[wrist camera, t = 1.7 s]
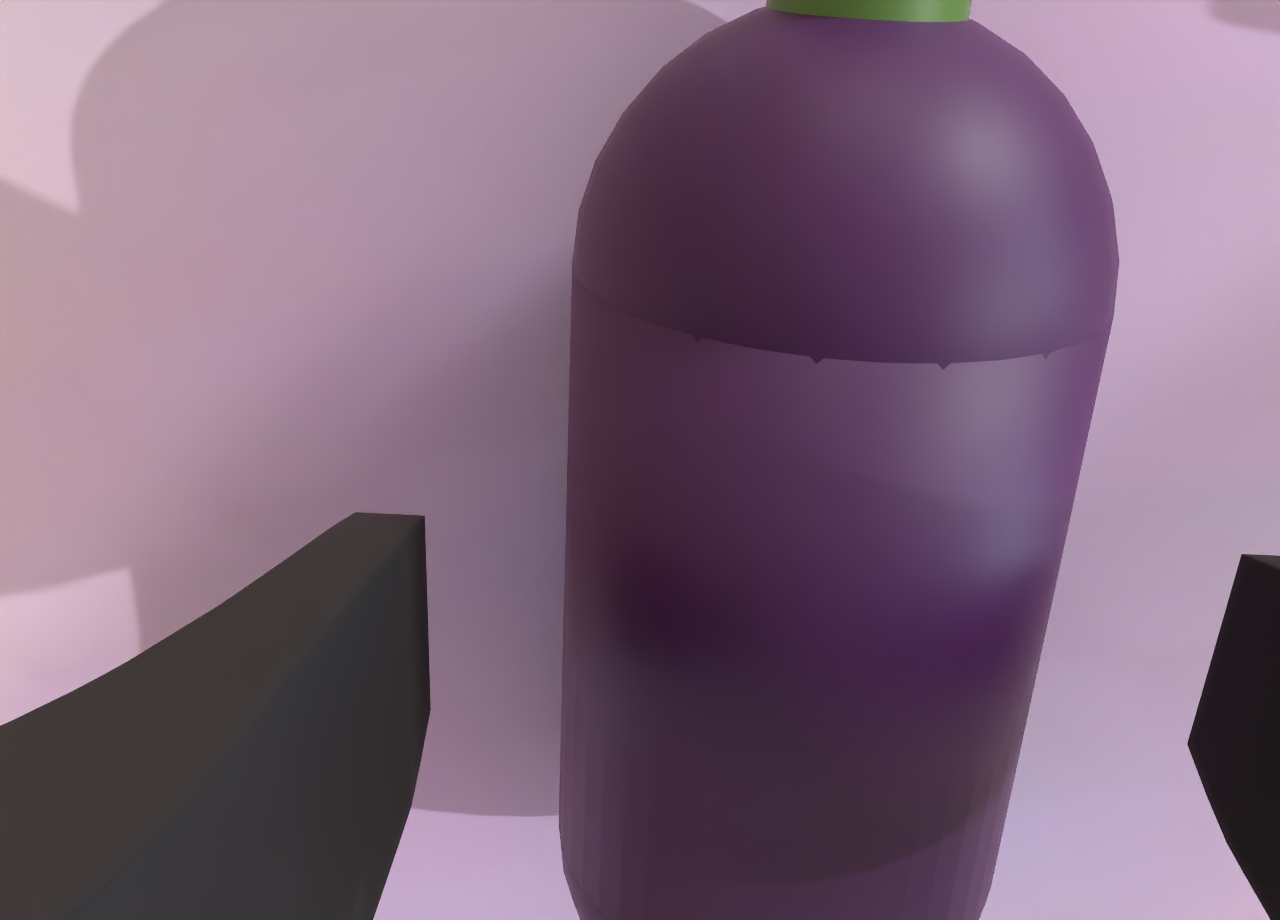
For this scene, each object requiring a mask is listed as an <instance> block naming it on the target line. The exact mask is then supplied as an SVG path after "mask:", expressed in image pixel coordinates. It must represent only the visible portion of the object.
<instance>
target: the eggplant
mask: <svg viewBox="0 0 1280 920" xmlns="http://www.w3.org/2000/svg"><path fill="white" fill-rule="evenodd" d="M970 7H971V0H767V2H766V7H763V8H759V9H756V10H754V11H752V12H750V13H748V14H746V15H743V16H741V17H739V18H737V19H735V20H733V21H731V22H729V23H727V24H725V25H723V26H721V27H719V28H717V29H715V30H713V31H711V32H709V33H707V34H705V35H704V36H703V37H701V38H700V39H699V40H697V41H696V42H695V43H693V44H692V45H691V46H690V47H688V48H687V49H686V50H684V51H683V52H682V53H680V54H679V55H678V56H676V57H675V58H674V59H673V60H671V61H670V62H669V63H667V64H666V65H665V66H663V67H662V69H661V70H660V71H659V72H658V73H657V74H656V76H655V77H654V78H653V79H652V80H651V81H650V82H649V84H648V85H647V86H646V87H645V88H644V89H643V90H642V92H641V93H640V94H639V95H638V96H637V97H636V98H635V100H634V101H633V102H632V103H631V104H630V105H629V107H628V108H627V109H626V110H625V111H624V112H623V114H622V116H621V117H620V119H619V121H618V122H617V124H616V126H615V128H614V129H613V131H612V133H611V135H610V136H609V138H608V140H607V142H606V143H605V145H604V147H603V149H602V150H601V152H600V154H599V156H598V157H597V159H596V161H595V164H594V167H593V170H592V173H591V176H590V179H589V182H588V185H587V188H586V191H585V194H584V197H583V200H582V203H581V206H580V209H579V213H578V221H577V229H576V237H575V245H574V253H573V261H572V299H571V341H570V382H569V424H568V465H567V506H566V548H565V589H564V631H563V672H562V714H561V755H560V797H559V831H560V839H561V849H562V859H563V869H564V874H565V877H566V880H567V883H568V886H569V889H570V892H571V895H572V898H573V901H574V904H575V907H576V909H577V912H578V915H579V917H580V920H979V918H980V915H981V912H982V909H983V907H984V906H985V903H986V899H987V896H988V893H989V890H990V887H991V883H992V879H993V874H994V869H995V865H996V860H997V855H998V851H999V846H1000V841H1001V837H1002V832H1003V827H1004V823H1005V818H1006V813H1007V809H1008V804H1009V799H1010V795H1011V790H1012V785H1013V781H1014V776H1015V772H1016V767H1017V762H1018V758H1019V753H1020V748H1021V744H1022V739H1023V734H1024V730H1025V725H1026V720H1027V716H1028V711H1029V706H1030V702H1031V697H1032V692H1033V688H1034V683H1035V678H1036V674H1037V669H1038V665H1039V660H1040V655H1041V651H1042V646H1043V641H1044V637H1045V632H1046V627H1047V623H1048V618H1049V613H1050V609H1051V604H1052V599H1053V595H1054V590H1055V585H1056V581H1057V576H1058V571H1059V567H1060V562H1061V558H1062V553H1063V548H1064V544H1065V539H1066V534H1067V530H1068V525H1069V520H1070V516H1071V511H1072V506H1073V502H1074V497H1075V492H1076V488H1077V483H1078V478H1079V474H1080V469H1081V465H1082V460H1083V455H1084V451H1085V446H1086V441H1087V437H1088V432H1089V427H1090V423H1091V418H1092V413H1093V409H1094V404H1095V399H1096V395H1097V390H1098V385H1099V381H1100V376H1101V371H1102V367H1103V362H1104V358H1105V353H1106V348H1107V344H1108V339H1109V334H1110V330H1111V325H1112V320H1113V315H1114V305H1115V296H1116V286H1117V277H1118V267H1119V255H1118V246H1117V237H1116V228H1115V218H1114V209H1113V203H1112V198H1111V194H1110V191H1109V188H1108V185H1107V182H1106V180H1105V177H1104V174H1103V171H1102V168H1101V165H1100V162H1099V159H1098V156H1097V153H1096V150H1095V147H1094V144H1093V142H1092V140H1091V138H1090V137H1089V135H1088V134H1087V132H1086V130H1085V129H1084V127H1083V125H1082V124H1081V122H1080V120H1079V119H1078V117H1077V115H1076V114H1075V112H1074V110H1073V109H1072V107H1071V105H1070V104H1069V102H1068V100H1067V99H1066V97H1065V95H1064V94H1063V93H1062V92H1061V91H1060V90H1059V89H1058V88H1057V87H1056V86H1055V85H1054V84H1053V83H1052V82H1051V81H1050V80H1049V79H1048V78H1047V77H1046V76H1045V74H1044V73H1043V72H1042V71H1041V70H1040V69H1039V68H1038V67H1037V66H1036V65H1035V64H1034V63H1033V62H1032V61H1031V60H1030V59H1029V58H1028V57H1027V56H1026V55H1025V54H1024V53H1022V52H1021V51H1019V50H1018V49H1016V48H1015V47H1013V46H1012V45H1010V44H1009V43H1007V42H1006V41H1004V40H1003V39H1001V38H1000V37H999V36H997V35H996V34H994V33H993V32H991V31H990V30H988V29H987V28H985V27H984V26H982V25H981V24H979V23H977V22H975V21H973V20H970V19H969V13H970Z"/></svg>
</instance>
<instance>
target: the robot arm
mask: <svg viewBox="0 0 1280 920" xmlns="http://www.w3.org/2000/svg"><path fill="white" fill-rule="evenodd" d="M429 715H430V676H429V643H428V610H427V577H426V544H425V516H420V515H399V514H378V513H354V514H352V515H350V516H349V517H347V518H345V519H343V520H342V521H340V522H339V523H337V524H336V525H334V526H333V527H331V528H330V529H328V530H327V531H325V532H324V533H323V534H321V535H320V536H318V537H317V538H315V539H314V540H313V541H311V542H310V543H308V544H307V545H306V546H304V547H303V548H301V549H300V550H299V551H297V552H296V553H294V554H293V555H291V556H290V557H289V558H287V559H286V560H284V561H283V562H282V563H280V564H279V565H277V566H276V567H274V568H273V569H271V570H270V571H269V572H267V573H266V574H264V575H263V576H261V577H260V578H258V579H257V580H255V581H254V582H253V583H251V584H250V585H248V586H247V587H245V588H244V589H242V590H241V591H239V592H238V593H237V594H235V595H234V596H232V597H231V598H229V599H228V600H226V601H225V602H223V603H222V604H220V605H219V606H217V607H216V608H214V609H213V610H211V611H209V612H208V613H206V614H204V615H203V616H201V617H199V618H198V619H196V620H195V621H193V622H191V623H190V624H188V625H186V626H185V627H183V628H181V629H180V630H178V631H177V632H175V633H173V634H172V635H170V636H168V637H167V638H165V639H164V640H162V641H160V642H159V643H157V644H155V645H154V646H152V647H150V648H149V649H147V650H146V651H144V652H142V653H141V654H139V655H137V656H136V657H134V658H133V659H131V660H129V661H128V662H126V663H124V664H122V665H120V666H119V667H117V668H115V669H113V670H111V671H110V672H108V673H106V674H104V675H102V676H100V677H98V678H97V679H95V680H93V681H91V682H89V683H87V684H85V685H83V686H81V687H80V688H78V689H76V690H74V691H72V692H70V693H68V694H66V695H64V696H62V697H60V698H58V699H56V700H53V701H51V702H49V703H47V704H45V705H43V706H41V707H39V708H37V709H35V710H33V711H31V712H29V713H27V714H25V715H23V716H21V717H19V718H17V719H14V720H12V721H10V722H8V723H6V724H4V725H1V726H0V920H373V918H374V915H375V912H376V909H377V906H378V904H379V901H380V898H381V895H382V892H383V889H384V886H385V883H386V880H387V877H388V874H389V871H390V868H391V865H392V862H393V859H394V856H395V854H396V851H397V848H398V845H399V842H400V839H401V836H402V833H403V830H404V827H405V824H406V821H407V818H408V815H409V811H410V808H411V805H412V800H413V795H414V791H415V786H416V781H417V776H418V771H419V767H420V762H421V757H422V751H423V746H424V741H425V736H426V730H427V725H428V720H429ZM1188 747H1189V750H1190V752H1191V755H1192V758H1193V760H1194V763H1195V766H1196V768H1197V771H1198V774H1199V776H1200V779H1201V781H1202V784H1203V787H1204V789H1205V792H1206V795H1207V797H1208V800H1209V802H1210V805H1211V807H1212V809H1213V812H1214V814H1215V816H1216V819H1217V821H1218V823H1219V826H1220V828H1221V830H1222V833H1223V835H1224V837H1225V840H1226V842H1227V844H1228V846H1229V848H1230V849H1231V851H1232V853H1233V855H1234V857H1235V858H1236V860H1237V862H1238V864H1239V866H1240V867H1241V869H1242V871H1243V873H1244V874H1245V876H1246V878H1247V880H1248V881H1249V883H1250V885H1251V887H1252V888H1253V890H1254V892H1255V893H1256V895H1257V897H1258V899H1259V900H1260V902H1261V904H1262V906H1263V907H1264V909H1265V911H1266V913H1267V914H1268V916H1269V918H1270V919H1271V920H1280V556H1271V555H1250V554H1242V555H1241V559H1240V562H1239V566H1238V569H1237V573H1236V576H1235V580H1234V583H1233V586H1232V590H1231V593H1230V597H1229V600H1228V604H1227V607H1226V611H1225V614H1224V618H1223V621H1222V625H1221V628H1220V632H1219V635H1218V639H1217V642H1216V646H1215V649H1214V653H1213V656H1212V660H1211V663H1210V667H1209V670H1208V674H1207V677H1206V681H1205V684H1204V688H1203V691H1202V695H1201V698H1200V702H1199V705H1198V709H1197V712H1196V716H1195V719H1194V723H1193V726H1192V730H1191V733H1190V737H1189V740H1188Z"/></svg>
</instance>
